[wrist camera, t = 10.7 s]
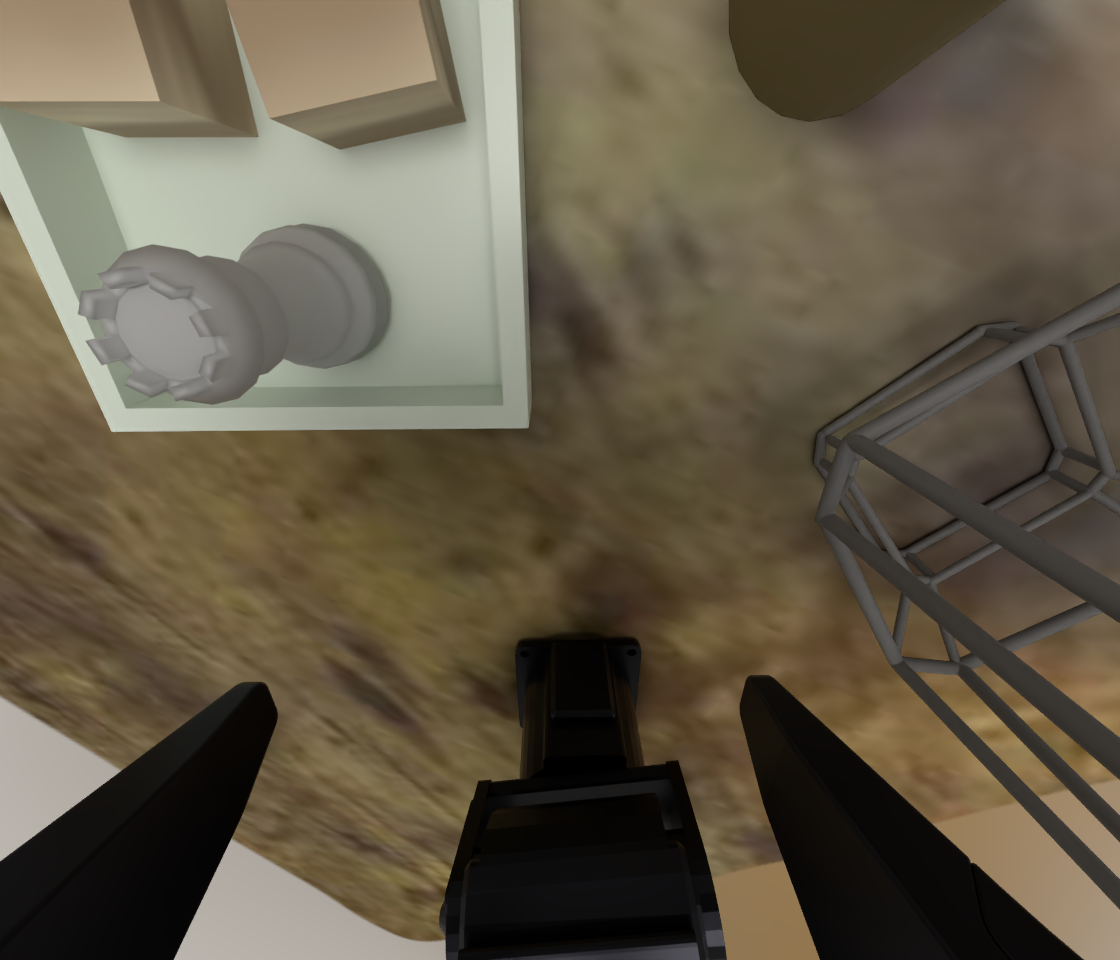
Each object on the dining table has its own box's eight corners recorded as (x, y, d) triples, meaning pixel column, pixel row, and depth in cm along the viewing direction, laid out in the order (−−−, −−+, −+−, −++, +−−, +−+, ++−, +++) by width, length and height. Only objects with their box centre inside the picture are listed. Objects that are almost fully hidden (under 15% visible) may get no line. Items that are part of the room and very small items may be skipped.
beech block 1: (259, 137, 14) (160, 101, 11) (125, 137, 14) (-19, 101, 11) (214, -48, 12) (76, -167, 9) (61, -48, 12) (-138, -167, 9)
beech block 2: (466, 121, 14) (436, 79, 11) (339, 149, 14) (269, 118, 11) (425, -65, 12) (373, -191, 9) (282, -28, 13) (174, -136, 9)
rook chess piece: (348, 386, 18) (209, 483, 11) (236, 300, 16) (-14, 343, 9) (418, 294, 16) (312, 333, 9) (301, 190, 15) (68, 140, 8)
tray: (532, 400, 19) (528, 428, 16) (178, 403, 18) (111, 431, 16) (516, -114, 12) (505, -218, 10) (-23, -116, 12) (-192, -223, 9)
